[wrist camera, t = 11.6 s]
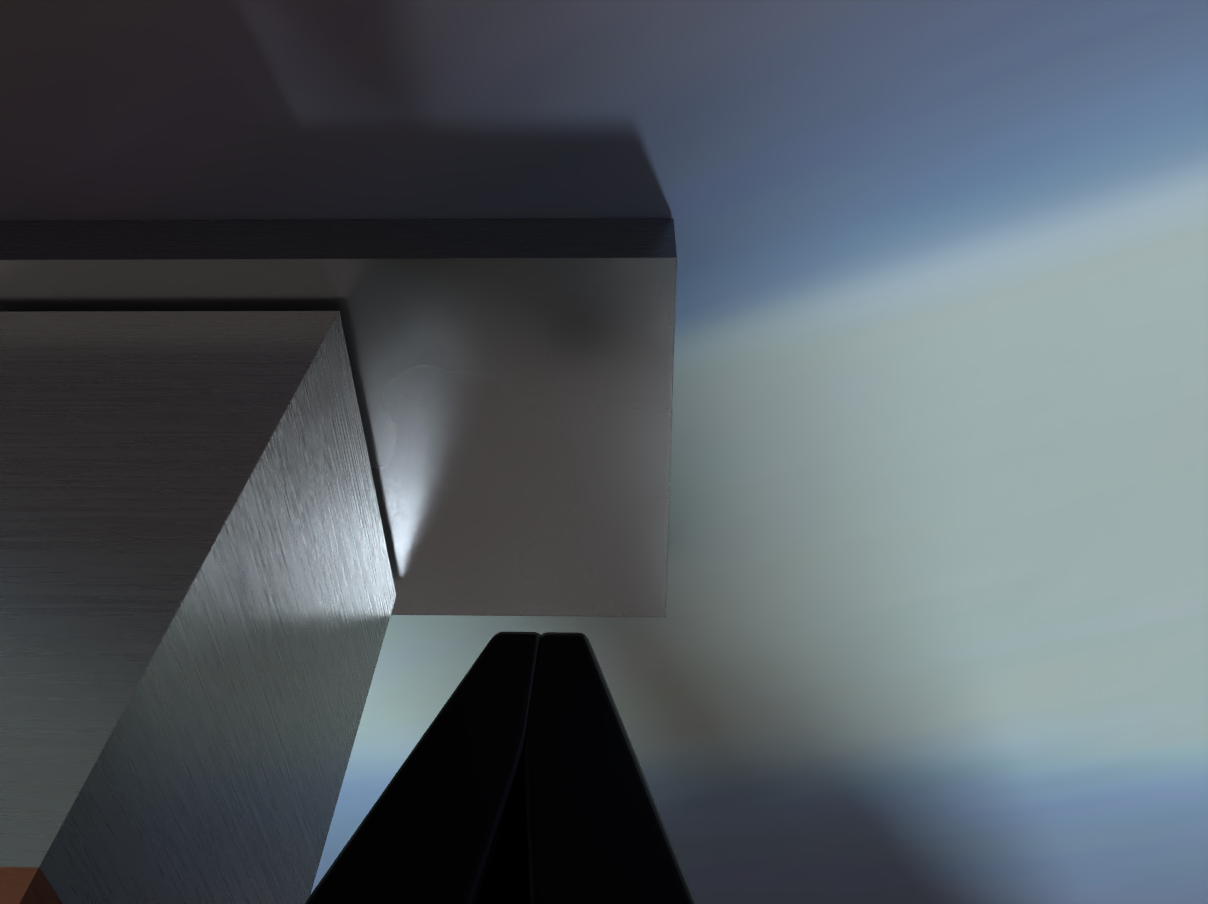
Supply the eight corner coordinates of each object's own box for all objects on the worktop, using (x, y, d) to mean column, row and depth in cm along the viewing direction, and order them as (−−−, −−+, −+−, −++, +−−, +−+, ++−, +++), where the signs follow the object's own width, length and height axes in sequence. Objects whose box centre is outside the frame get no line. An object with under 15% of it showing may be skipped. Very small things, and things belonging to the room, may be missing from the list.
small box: (396, 595, 12) (204, 1265, 7) (84, 593, 12) (-353, 1250, 7) (339, 311, 10) (-29, 993, 4) (-47, 311, 10) (-878, 974, 4)
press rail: (663, 564, 13) (673, 827, 10) (-185, 559, 13) (-444, 811, 10) (673, 217, 10) (691, 430, 7) (-410, 223, 11) (-874, 427, 7)
